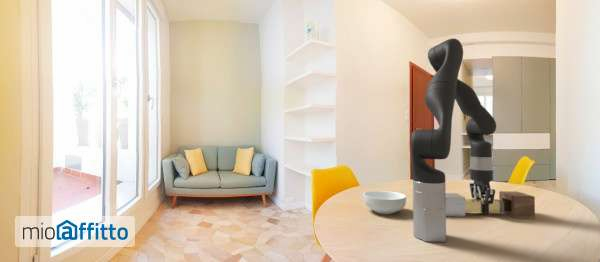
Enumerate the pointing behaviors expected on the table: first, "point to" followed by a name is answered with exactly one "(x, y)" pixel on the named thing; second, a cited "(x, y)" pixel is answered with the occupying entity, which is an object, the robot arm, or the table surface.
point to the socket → (518, 204)
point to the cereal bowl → (384, 201)
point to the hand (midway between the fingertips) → (481, 211)
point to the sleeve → (455, 205)
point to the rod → (476, 205)
